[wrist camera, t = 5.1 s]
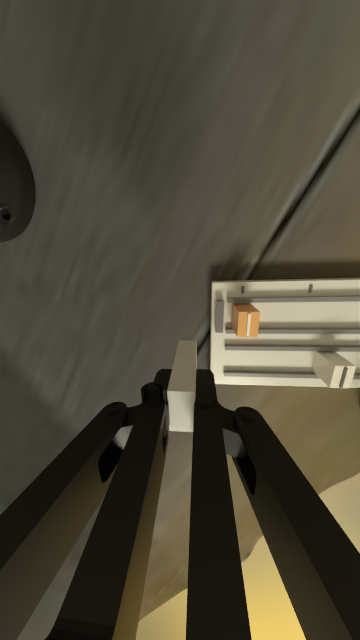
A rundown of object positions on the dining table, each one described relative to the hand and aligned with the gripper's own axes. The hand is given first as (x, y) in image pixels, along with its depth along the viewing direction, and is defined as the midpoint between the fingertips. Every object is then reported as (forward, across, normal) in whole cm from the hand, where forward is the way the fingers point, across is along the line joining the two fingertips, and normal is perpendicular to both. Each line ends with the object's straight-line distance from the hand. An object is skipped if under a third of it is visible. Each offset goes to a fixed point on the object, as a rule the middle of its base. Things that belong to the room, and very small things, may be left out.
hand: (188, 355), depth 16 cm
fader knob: (+11, +7, 0) cm, 13 cm away
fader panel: (+13, +16, -3) cm, 21 cm away
